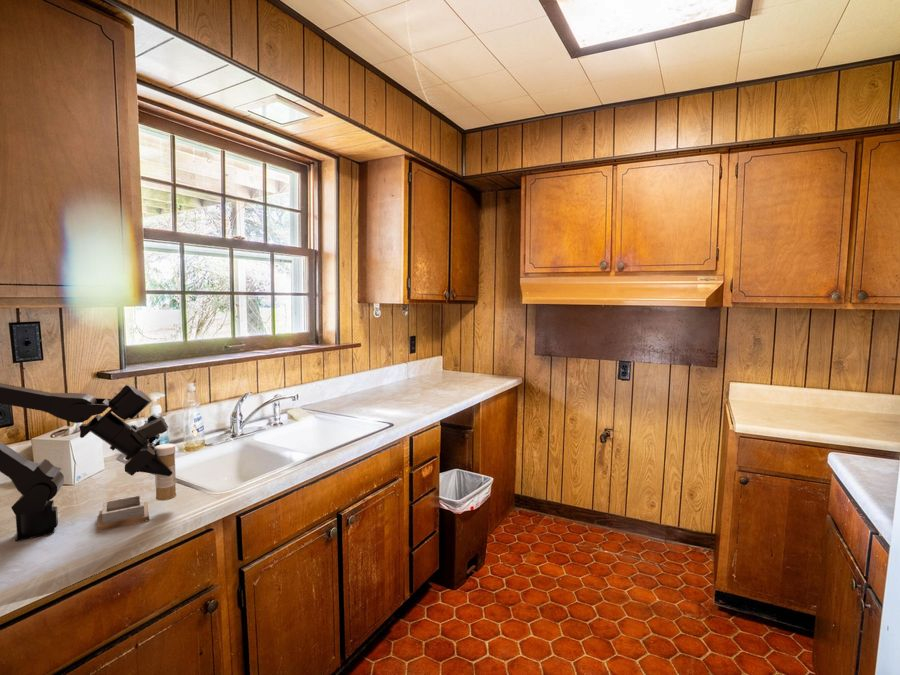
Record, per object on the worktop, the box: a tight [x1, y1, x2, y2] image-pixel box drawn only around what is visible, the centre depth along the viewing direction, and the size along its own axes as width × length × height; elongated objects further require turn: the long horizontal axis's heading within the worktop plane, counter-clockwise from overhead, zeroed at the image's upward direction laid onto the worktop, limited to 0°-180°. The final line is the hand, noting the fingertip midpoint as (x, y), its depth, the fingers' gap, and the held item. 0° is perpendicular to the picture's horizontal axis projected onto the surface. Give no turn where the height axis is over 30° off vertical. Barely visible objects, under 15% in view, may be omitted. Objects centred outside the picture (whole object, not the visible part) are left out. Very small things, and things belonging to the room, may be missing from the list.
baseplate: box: [97, 501, 150, 532], centre depth 116 cm, size 10×10×1 cm
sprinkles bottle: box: [154, 443, 177, 502], centre depth 119 cm, size 5×5×14 cm
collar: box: [102, 493, 145, 524], centre depth 116 cm, size 8×8×2 cm
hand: (171, 471), depth 120 cm, fingers closed on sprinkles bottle, 4 cm apart
